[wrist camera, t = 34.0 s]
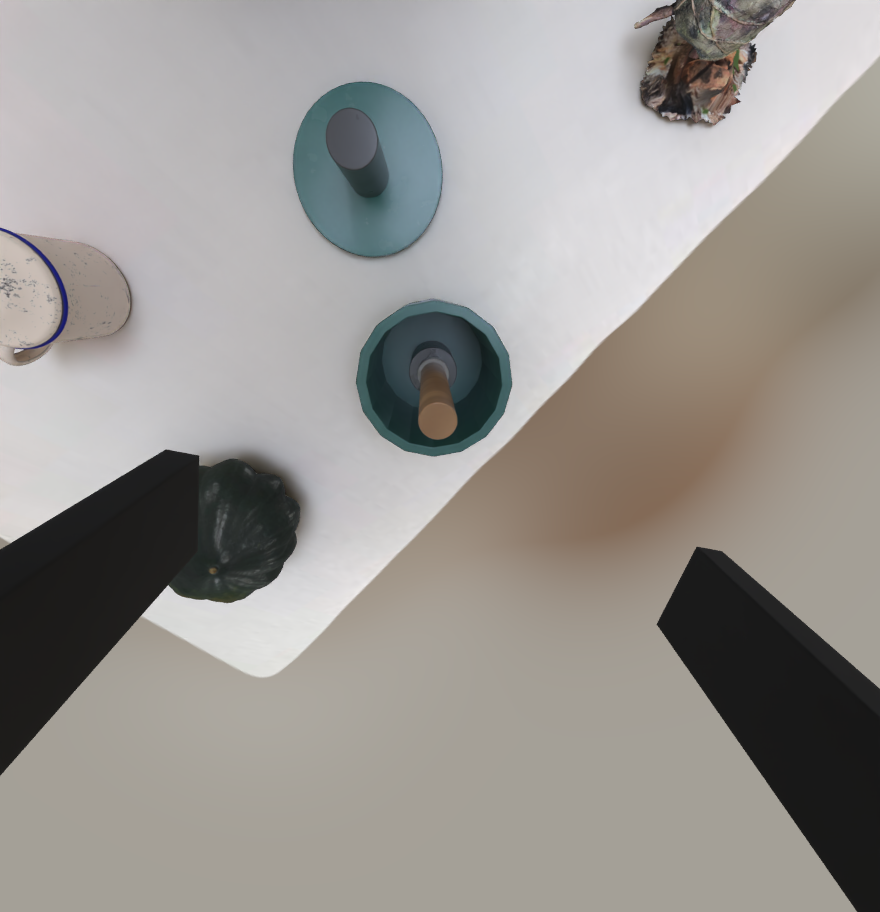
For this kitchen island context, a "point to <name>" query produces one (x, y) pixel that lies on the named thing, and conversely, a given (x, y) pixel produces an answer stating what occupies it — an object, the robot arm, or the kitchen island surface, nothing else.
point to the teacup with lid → (55, 295)
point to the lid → (367, 169)
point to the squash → (238, 533)
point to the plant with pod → (704, 55)
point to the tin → (473, 391)
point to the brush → (434, 388)
